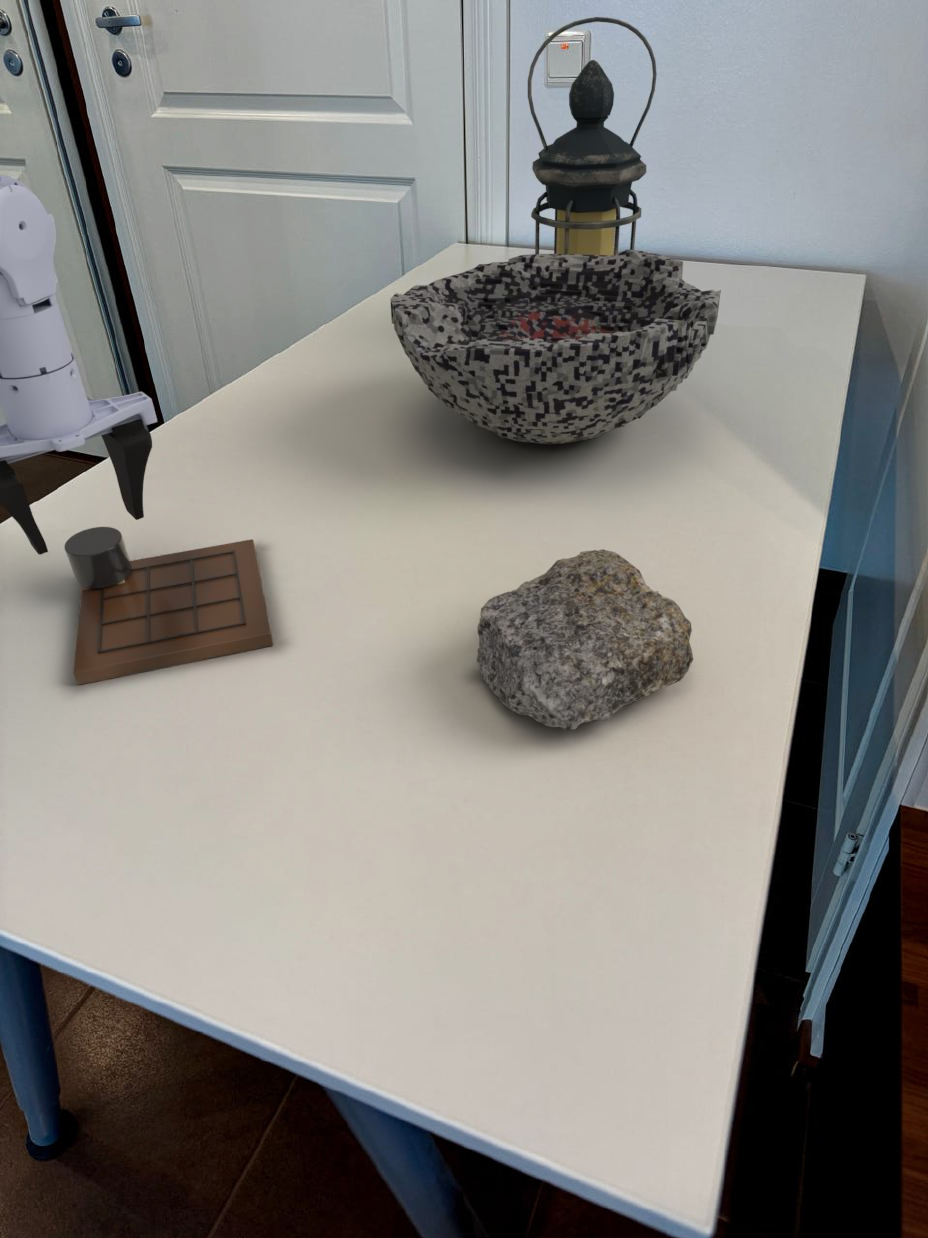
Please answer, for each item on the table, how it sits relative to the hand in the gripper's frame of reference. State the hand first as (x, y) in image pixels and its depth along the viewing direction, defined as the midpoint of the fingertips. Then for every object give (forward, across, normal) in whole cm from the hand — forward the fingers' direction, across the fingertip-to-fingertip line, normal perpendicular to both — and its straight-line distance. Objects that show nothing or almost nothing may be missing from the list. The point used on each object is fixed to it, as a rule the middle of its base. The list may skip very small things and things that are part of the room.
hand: (88, 530), depth 69 cm
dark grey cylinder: (+4, 0, 0) cm, 4 cm away
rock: (+6, +22, -33) cm, 40 cm away
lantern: (+6, +68, +14) cm, 70 cm away
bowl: (+6, +48, -2) cm, 48 cm away
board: (+6, +3, -7) cm, 9 cm away
